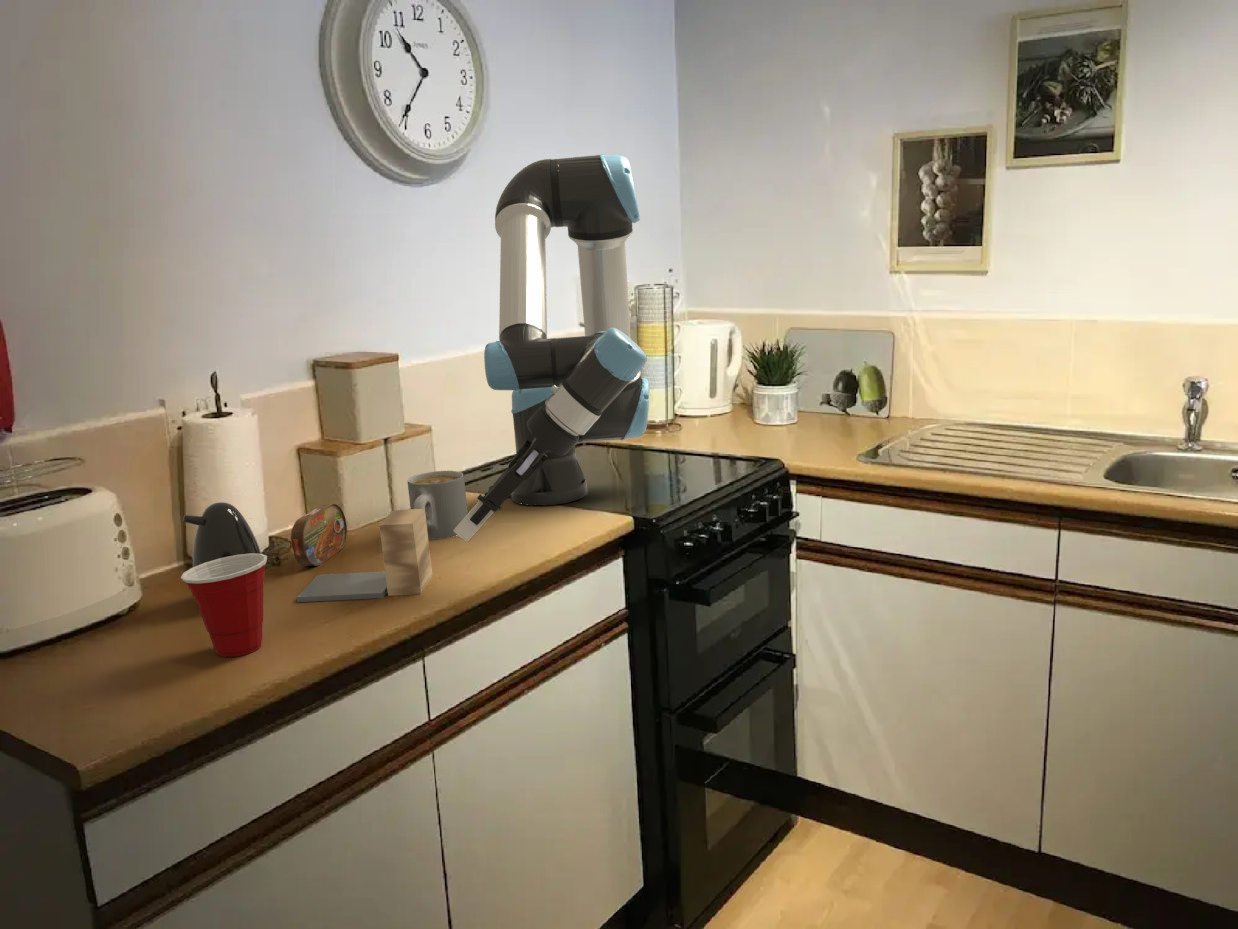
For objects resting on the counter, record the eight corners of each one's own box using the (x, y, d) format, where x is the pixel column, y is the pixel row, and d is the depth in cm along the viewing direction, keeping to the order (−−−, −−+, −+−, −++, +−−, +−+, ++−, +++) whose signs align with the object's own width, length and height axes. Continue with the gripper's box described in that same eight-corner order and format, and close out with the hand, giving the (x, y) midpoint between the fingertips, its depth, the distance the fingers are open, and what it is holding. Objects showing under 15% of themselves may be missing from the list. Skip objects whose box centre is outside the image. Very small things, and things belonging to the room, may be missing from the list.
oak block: (432, 576, 162) (424, 508, 159) (421, 594, 154) (412, 523, 151) (401, 577, 162) (392, 510, 159) (388, 595, 154) (379, 525, 152)
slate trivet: (399, 575, 163) (398, 570, 163) (382, 598, 153) (382, 592, 153) (318, 579, 164) (318, 574, 163) (297, 602, 154) (296, 597, 154)
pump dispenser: (187, 600, 158) (170, 505, 155) (253, 582, 164) (239, 490, 161) (210, 616, 150) (193, 516, 147) (278, 597, 157) (264, 500, 153)
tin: (309, 572, 168) (302, 523, 166) (292, 572, 168) (284, 523, 166) (351, 544, 182) (344, 498, 180) (334, 544, 182) (328, 498, 181)
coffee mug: (435, 521, 192) (429, 469, 190) (479, 524, 188) (474, 471, 186) (390, 543, 181) (383, 487, 178) (436, 547, 176) (430, 490, 174)
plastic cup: (230, 630, 144) (217, 549, 142) (296, 635, 141) (284, 551, 138) (176, 662, 134) (160, 575, 132) (245, 668, 131) (231, 579, 128)
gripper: (546, 396, 157) (450, 507, 162) (537, 411, 144) (432, 532, 149) (584, 428, 158) (486, 538, 162) (578, 446, 145) (472, 565, 150)
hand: (461, 535), depth 156 cm, fingers closed
